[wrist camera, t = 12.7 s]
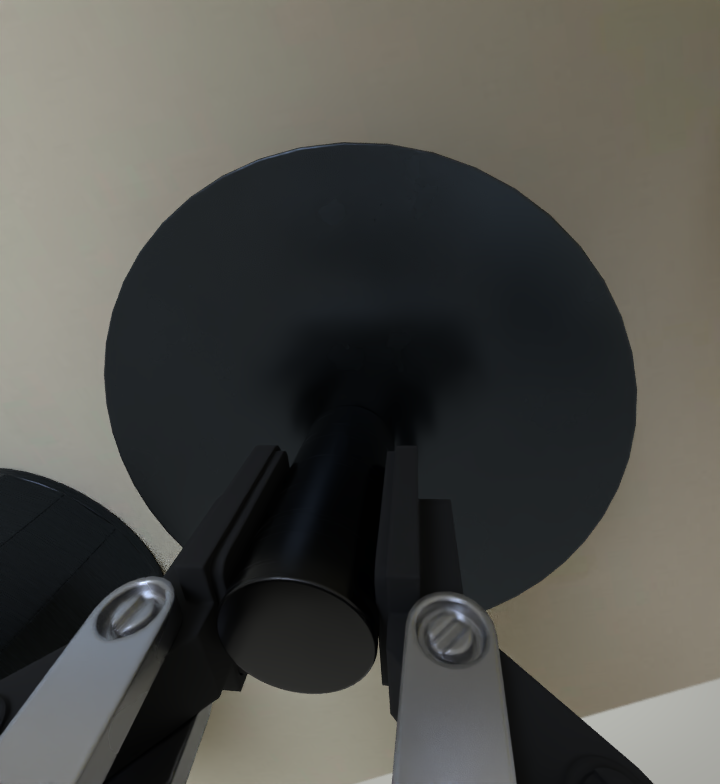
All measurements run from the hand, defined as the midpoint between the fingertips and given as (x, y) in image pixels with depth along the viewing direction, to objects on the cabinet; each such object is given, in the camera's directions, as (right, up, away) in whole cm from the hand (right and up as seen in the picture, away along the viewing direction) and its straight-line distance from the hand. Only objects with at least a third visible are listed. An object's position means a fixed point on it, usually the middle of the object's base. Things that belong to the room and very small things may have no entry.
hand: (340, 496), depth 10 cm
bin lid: (0, +1, +2) cm, 3 cm away
